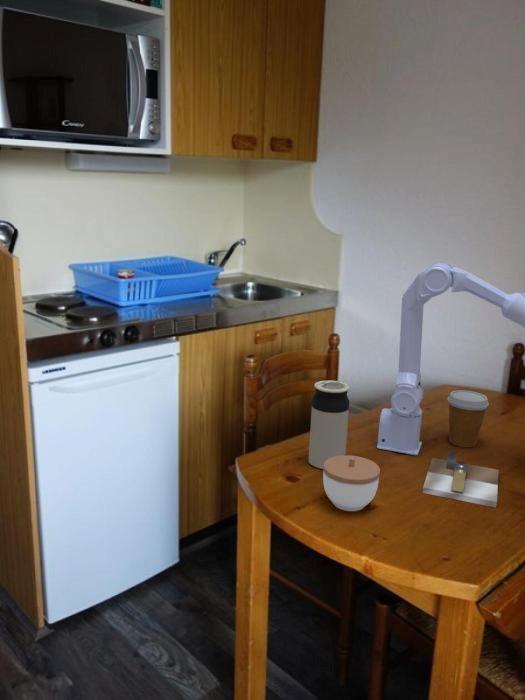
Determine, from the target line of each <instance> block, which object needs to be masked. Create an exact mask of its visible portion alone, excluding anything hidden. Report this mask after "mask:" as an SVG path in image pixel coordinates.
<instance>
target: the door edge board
mask: <svg viewBox="0 0 525 700" xmlns="http://www.w3.org/2000/svg"><path fill="white" fill-rule="evenodd" d="M467 464H468V463H467ZM446 465H447V459H441V458H435V457H432V458H431V462H430V465H429V467H428V471H427V474H426V477H425V481H424V484H423V486H422V494H427V495H432V496H435V497H436V496H437V497H441V498H446V499H451V500H457V501H462V502H465V503H466V502H467V503H470V504H475V505H480V506H487V507H491V508H497V504H498V489H499V488H498V487H499V486H498V485H499V473H500V471H499V469H496V468H490V467H485V466H479V465H474V464H468V465H469V466H468V474H467V478H466V479H465V483H464V489H463V492H459V491H454V490H451V489H452V481H453V471H454V470H450V469H446Z"/></svg>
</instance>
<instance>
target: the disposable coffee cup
mask: <svg viewBox="0 0 525 700" xmlns="http://www.w3.org/2000/svg"><path fill="white" fill-rule="evenodd" d="M446 398H447V402H448V417H449V418H448V419H449V420H448V426H449V428H448V430H449V431H448V432H449V434H448V435H449V438H448V440H449V443H450V444H452V445H454V446H458V447H461V448H472V447H476V445H477V443H478V439H479V435H480V431H481V428H482V424H483V421H484V417H485V414H486V409H487V408H488V407H489V404H490V403H489V402H488V397H487V395H484V394H483V393H480V392H476V391H472V390H453V391H451V392H450V393H449V395H448V397H446Z"/></svg>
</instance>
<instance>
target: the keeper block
mask: <svg viewBox="0 0 525 700" xmlns="http://www.w3.org/2000/svg"><path fill="white" fill-rule="evenodd" d="M446 460H447V465H446V469H450V470H454V464H455V462H457V461H456V460H457V452H456V451H452V450H451V451H450V450H449V451H448V455H447V459H446Z"/></svg>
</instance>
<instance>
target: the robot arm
mask: <svg viewBox="0 0 525 700" xmlns="http://www.w3.org/2000/svg"><path fill="white" fill-rule="evenodd" d="M450 287H451V293H459V292H468V294H469V293H470V294H472V295H473V296H474V297H475V296H476V297H477V298H480V299H482V300H484V301H486V302H488V303H490V304H492V305H494V306H497V307H499V308H500V309H501V314H502V316H503V317H504V318H506V319H508V320H510V321H511V322H513V323H515V324H517V325H519V326H521V327H523V328H525V292H524V293H523V294H522V293H520V292H514V293H511V294H509V293H506V292H504V291H503V290H501V289H499V288H497V287H496V286H494V285H493V284H491V283H488V282H487V281H485V280H483V279H482V278H480V277H478V276H477V275H474V274H473V273H471V272H470V271H467V270H464V269H462V268H460V267H458V266H457V267H456V266H452V265H451V264H449V263H447V262H445V261H438V262H435V263H434V264H433V263H432V265H430V266H428V267H427V268H425V269H424V270H422V271H421V272H419V274H417V276H416V277H415V278H414V280H413V281H412V282H411V283H410V285H409V286H408V288H407V289H406V290H405V292H404V293H403V294H402V296H401V315H400V331H399V333H400V337H399V354H398V355H399V358H398V359H399V360H398V374H397V378H396V383H395V390H394V392H393V394H392V395H391V398H390V404H391V407H390V408H387V407H385V408H384V407H383V408H382V410H381V413H380V416H379V417H380V419H379V424H378V425H379V426H378V435H377V444H376V445H377V446H376V449H380V450H385V451H389V452H397V453H401V454H407V455H412V456H418V455H419V453H420V450H421V448H422V445H423V444H422V443H423V442H422V441H420V437H421V426H422V419H423V418H422V417H423V410H422V408H421V406H420V404H421V402H422V401H423V399H424V396H425V389H424V387H423V385H422V374H421V357H422V338H423V337H422V336H423V323H424V321H423V319H424V305H425V304H426V303H427V302H429V301H430V300H431V299H432V298H435V297H437V296H440V295H443V294H444V293H446V292H447V291H448V290H449V289H450Z"/></svg>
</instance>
